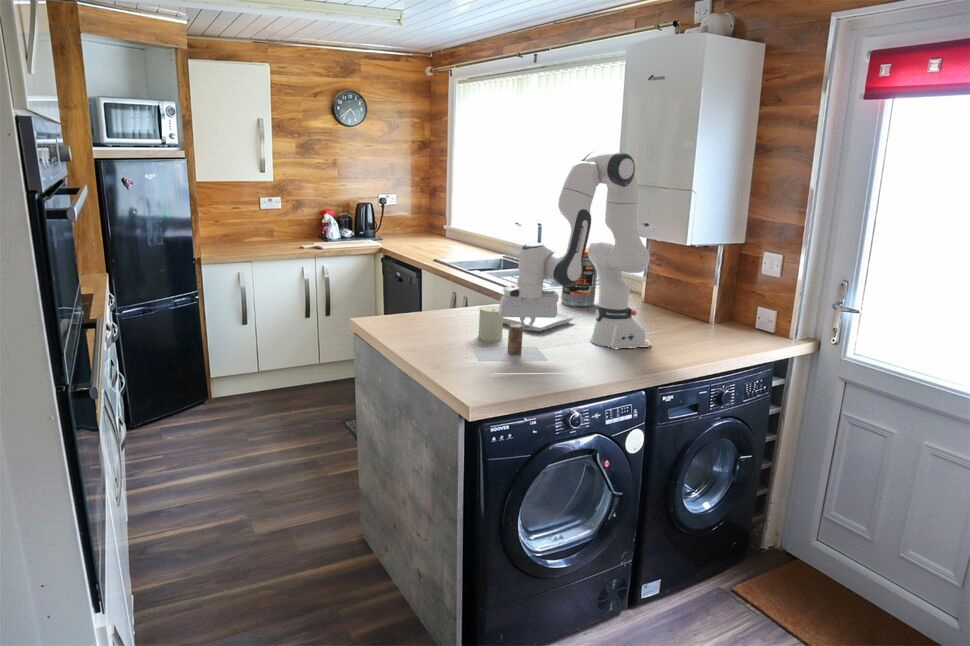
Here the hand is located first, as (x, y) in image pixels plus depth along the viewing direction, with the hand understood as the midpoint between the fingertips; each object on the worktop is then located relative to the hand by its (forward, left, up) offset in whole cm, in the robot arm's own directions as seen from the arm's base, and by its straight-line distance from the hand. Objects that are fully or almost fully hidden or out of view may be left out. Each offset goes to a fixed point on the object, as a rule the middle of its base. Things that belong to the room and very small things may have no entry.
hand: (526, 329), depth 232 cm
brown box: (+4, 0, -9) cm, 9 cm away
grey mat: (+6, 0, -9) cm, 11 cm away
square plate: (-12, -43, -10) cm, 46 cm away
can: (+9, -20, -9) cm, 24 cm away
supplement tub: (-43, -77, -9) cm, 89 cm away
